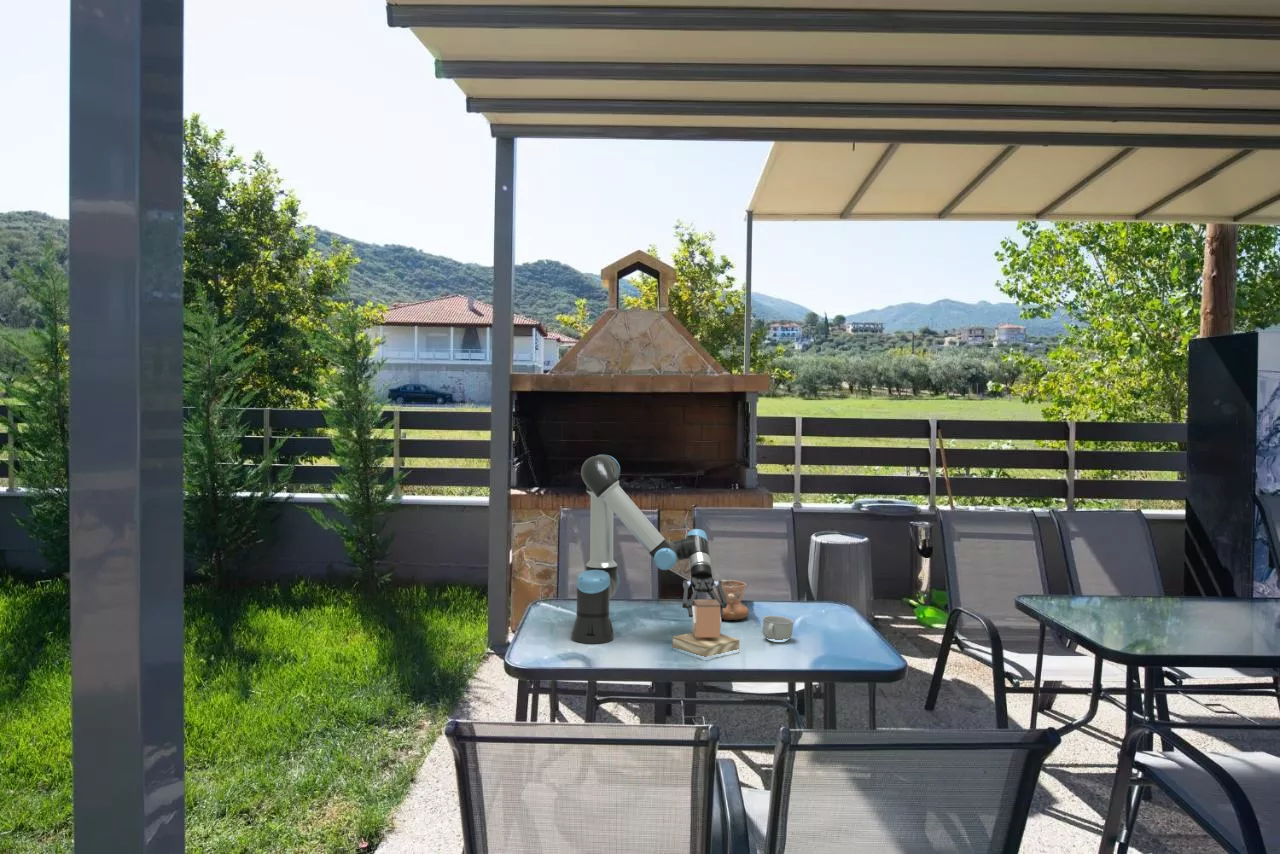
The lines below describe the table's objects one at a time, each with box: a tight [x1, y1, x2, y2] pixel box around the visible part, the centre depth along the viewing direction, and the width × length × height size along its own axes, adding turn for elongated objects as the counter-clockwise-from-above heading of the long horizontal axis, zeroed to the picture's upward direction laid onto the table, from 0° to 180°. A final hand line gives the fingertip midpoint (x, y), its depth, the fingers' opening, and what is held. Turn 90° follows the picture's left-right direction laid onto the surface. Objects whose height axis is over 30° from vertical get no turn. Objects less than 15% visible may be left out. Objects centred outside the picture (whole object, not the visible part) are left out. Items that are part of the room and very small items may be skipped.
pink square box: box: [692, 598, 721, 637], centre depth 298 cm, size 8×8×11 cm
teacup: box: [762, 615, 794, 640], centre depth 312 cm, size 14×11×8 cm
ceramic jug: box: [715, 579, 749, 621], centre depth 346 cm, size 18×14×14 cm
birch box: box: [672, 632, 740, 657], centre depth 298 cm, size 16×16×5 cm
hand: (707, 624), depth 296 cm, fingers closed on pink square box, 8 cm apart
